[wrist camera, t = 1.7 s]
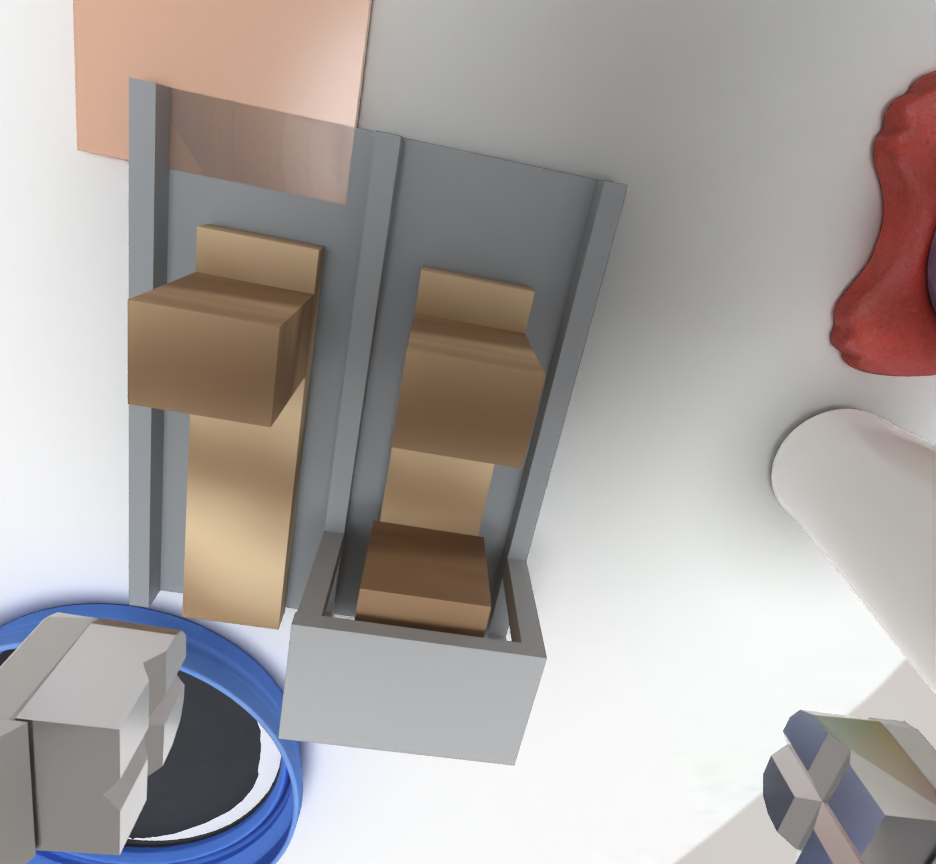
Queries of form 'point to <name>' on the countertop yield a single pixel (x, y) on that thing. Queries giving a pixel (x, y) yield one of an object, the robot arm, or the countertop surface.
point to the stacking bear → (898, 250)
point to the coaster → (226, 76)
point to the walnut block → (425, 580)
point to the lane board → (373, 404)
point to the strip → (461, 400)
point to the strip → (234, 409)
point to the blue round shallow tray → (201, 754)
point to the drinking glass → (870, 518)
